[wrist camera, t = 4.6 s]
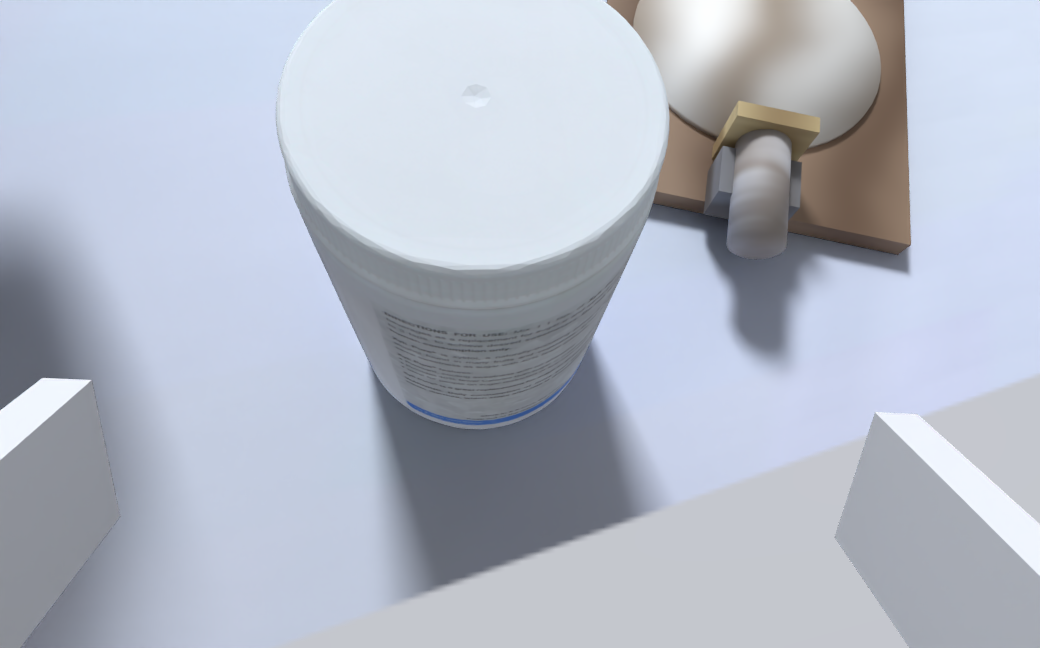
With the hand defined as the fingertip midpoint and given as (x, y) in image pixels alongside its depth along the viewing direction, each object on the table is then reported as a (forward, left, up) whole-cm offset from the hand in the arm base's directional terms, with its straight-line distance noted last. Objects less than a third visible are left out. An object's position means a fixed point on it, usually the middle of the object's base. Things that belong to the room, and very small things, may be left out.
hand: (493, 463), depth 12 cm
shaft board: (+9, +26, -16) cm, 32 cm away
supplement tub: (-2, +8, -16) cm, 18 cm away
